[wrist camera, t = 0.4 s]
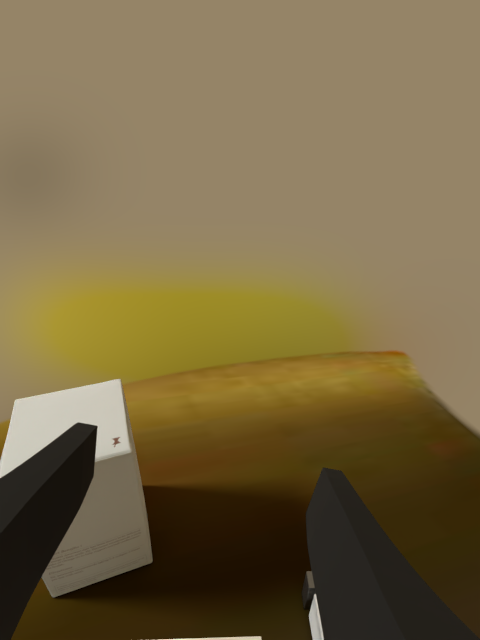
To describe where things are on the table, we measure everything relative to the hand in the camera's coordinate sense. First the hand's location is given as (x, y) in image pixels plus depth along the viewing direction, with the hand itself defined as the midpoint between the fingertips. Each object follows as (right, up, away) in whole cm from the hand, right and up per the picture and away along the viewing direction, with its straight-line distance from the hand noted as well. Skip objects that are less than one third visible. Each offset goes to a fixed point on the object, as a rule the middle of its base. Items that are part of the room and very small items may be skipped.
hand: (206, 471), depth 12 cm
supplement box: (-10, -13, +18) cm, 25 cm away
